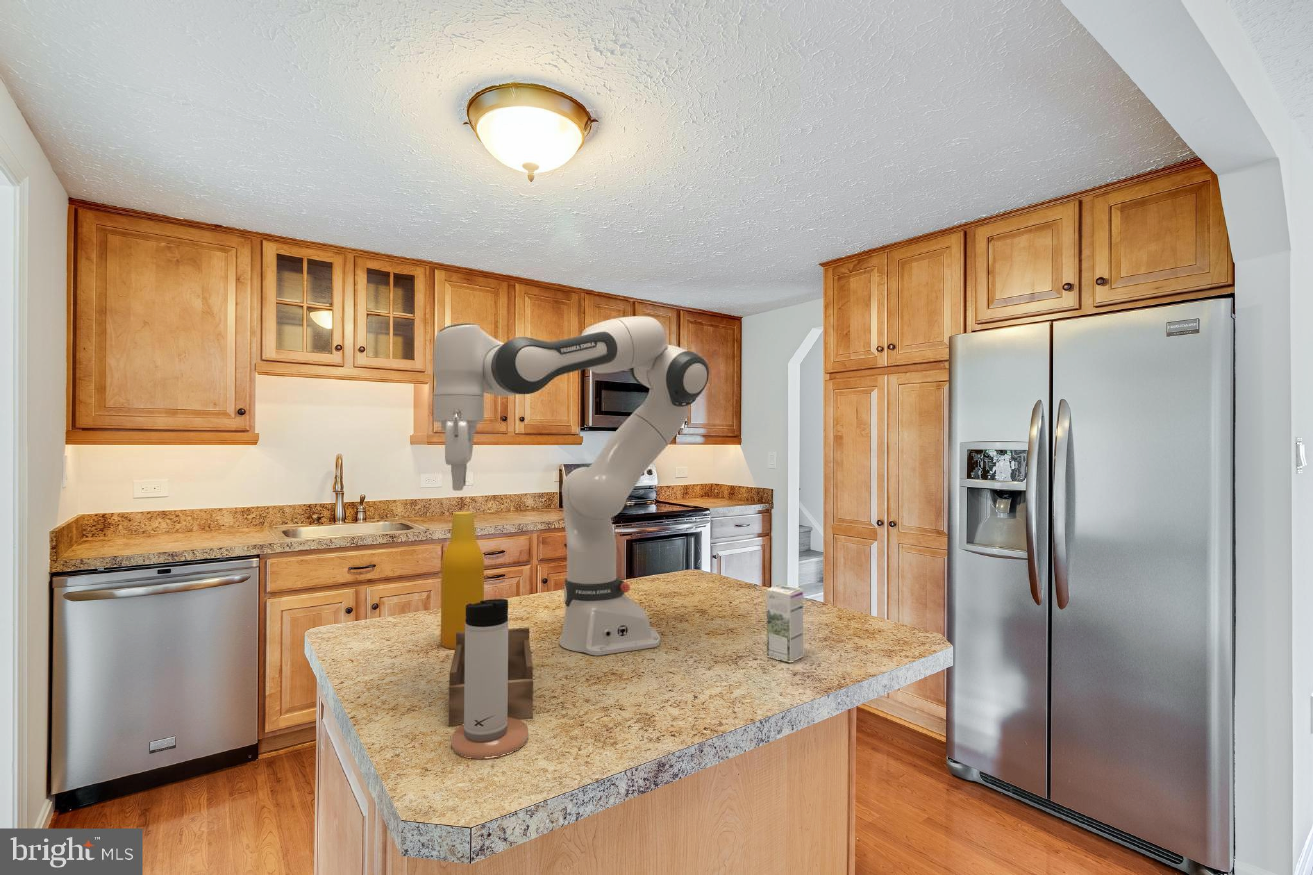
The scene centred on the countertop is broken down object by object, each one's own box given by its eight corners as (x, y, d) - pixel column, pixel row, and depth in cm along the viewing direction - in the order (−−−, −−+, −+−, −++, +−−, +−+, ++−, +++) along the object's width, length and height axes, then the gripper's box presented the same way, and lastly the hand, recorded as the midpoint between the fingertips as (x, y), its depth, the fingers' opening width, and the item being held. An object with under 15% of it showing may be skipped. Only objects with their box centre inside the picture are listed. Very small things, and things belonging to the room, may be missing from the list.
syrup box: (804, 657, 130) (804, 587, 131) (789, 664, 126) (789, 592, 126) (780, 651, 134) (780, 583, 134) (765, 657, 130) (765, 588, 130)
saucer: (526, 720, 100) (526, 713, 100) (529, 754, 89) (529, 745, 89) (454, 728, 97) (454, 720, 97) (448, 763, 87) (448, 754, 87)
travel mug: (483, 747, 89) (484, 606, 89) (455, 734, 93) (456, 599, 93) (517, 731, 94) (518, 598, 94) (489, 719, 98) (491, 591, 98)
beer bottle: (450, 652, 132) (451, 515, 132) (433, 642, 139) (434, 512, 139) (491, 643, 138) (492, 512, 139) (472, 634, 145) (473, 509, 146)
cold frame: (528, 681, 117) (529, 627, 117) (532, 717, 101) (533, 655, 101) (456, 687, 114) (456, 632, 114) (448, 726, 98) (449, 662, 98)
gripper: (475, 410, 105) (476, 492, 105) (478, 414, 124) (478, 484, 124) (435, 409, 103) (436, 493, 103) (444, 414, 123) (445, 484, 123)
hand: (459, 488), depth 114 cm, fingers open, 8 cm apart
